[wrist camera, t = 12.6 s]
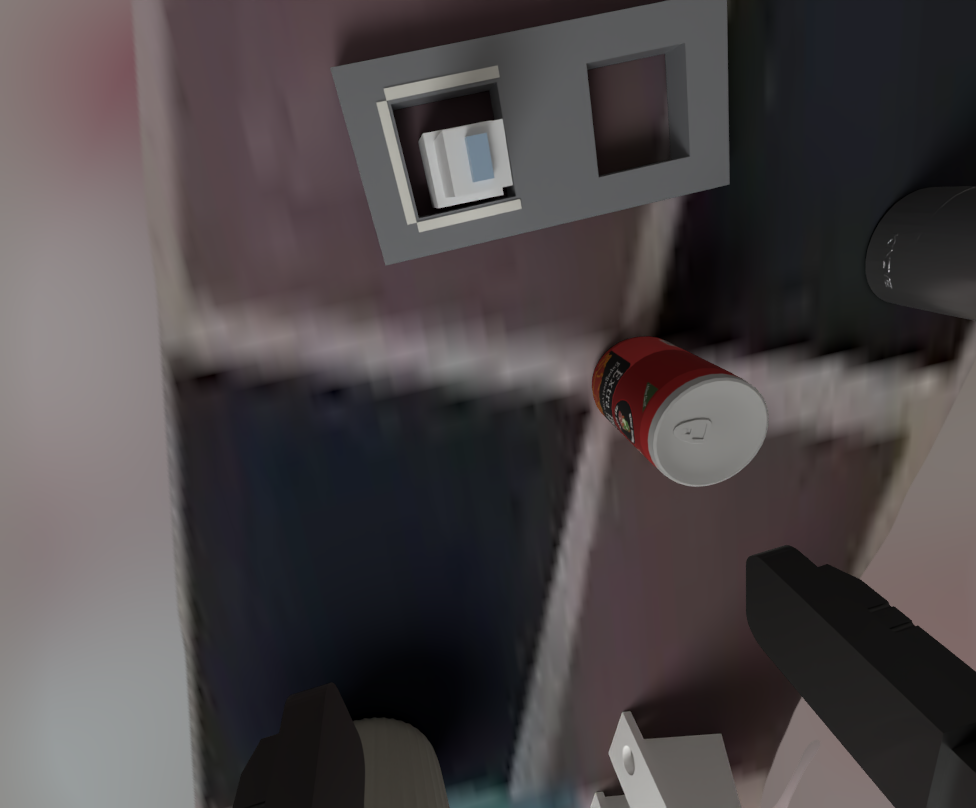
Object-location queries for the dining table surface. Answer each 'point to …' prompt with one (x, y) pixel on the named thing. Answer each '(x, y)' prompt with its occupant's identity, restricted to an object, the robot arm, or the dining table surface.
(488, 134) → the plug
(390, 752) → the canister
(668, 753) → the white bracket plate
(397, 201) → the panel
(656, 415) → the canned food
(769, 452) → the dining table surface
